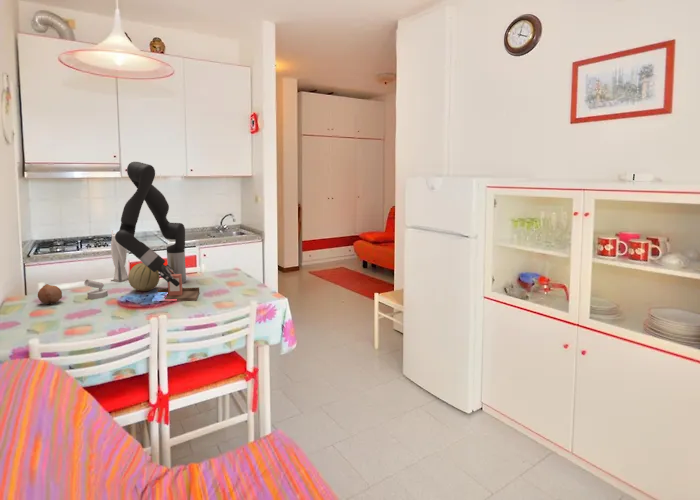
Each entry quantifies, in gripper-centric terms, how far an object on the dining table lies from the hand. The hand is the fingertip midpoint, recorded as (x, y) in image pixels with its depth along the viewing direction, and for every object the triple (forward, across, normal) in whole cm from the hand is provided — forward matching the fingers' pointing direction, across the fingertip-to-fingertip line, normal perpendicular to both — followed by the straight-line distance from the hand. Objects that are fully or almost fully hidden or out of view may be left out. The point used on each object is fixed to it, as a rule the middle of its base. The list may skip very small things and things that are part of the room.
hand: (179, 283), depth 220 cm
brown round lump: (-35, -2, +46) cm, 57 cm away
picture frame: (+3, 0, +6) cm, 6 cm away
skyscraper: (-22, +39, +32) cm, 55 cm away
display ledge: (+4, 0, +6) cm, 7 cm away
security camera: (-23, +7, +34) cm, 42 cm away
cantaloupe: (-9, +15, +19) cm, 26 cm away
